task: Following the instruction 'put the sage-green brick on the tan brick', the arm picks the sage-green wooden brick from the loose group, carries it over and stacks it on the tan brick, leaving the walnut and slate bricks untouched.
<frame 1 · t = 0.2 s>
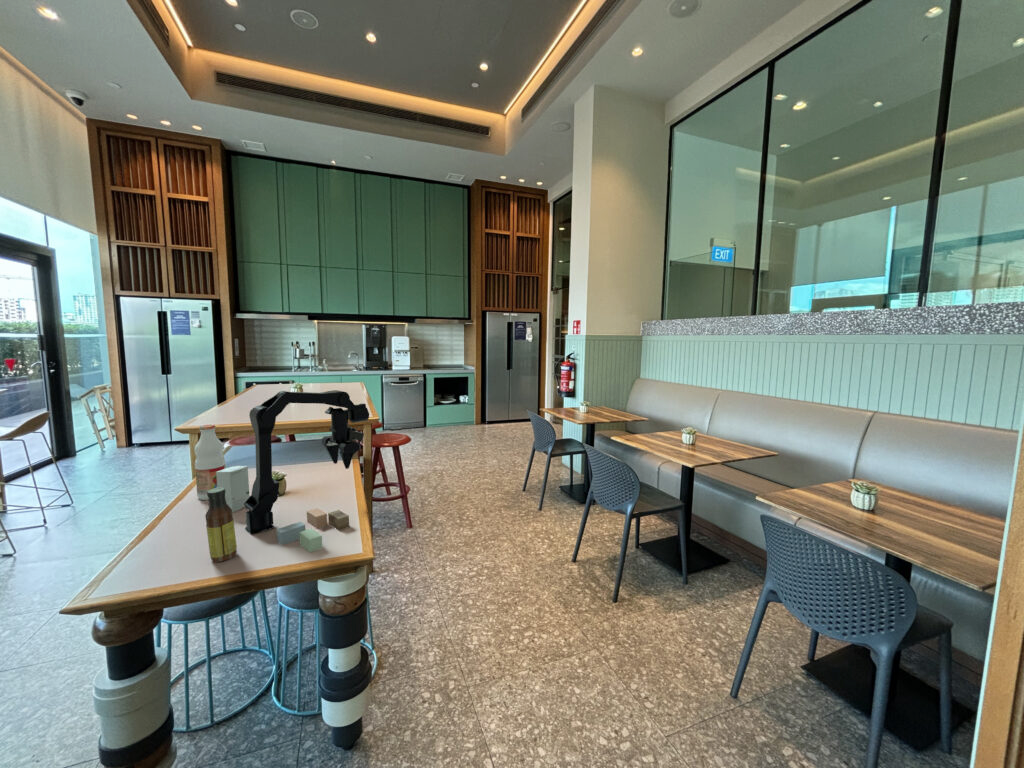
hand: (341, 465, 151), 14 cm above the table, fingers open, 9 cm apart
tan brick: (317, 523, 136), on the table
slate brick: (291, 539, 126), on the table
walnut brick: (338, 525, 135), on the table
sauce bottle: (223, 558, 115), on the table
sage brick: (311, 546, 121), on the table
skincare box: (234, 508, 148), on the table
fruit juice: (212, 496, 160), on the table
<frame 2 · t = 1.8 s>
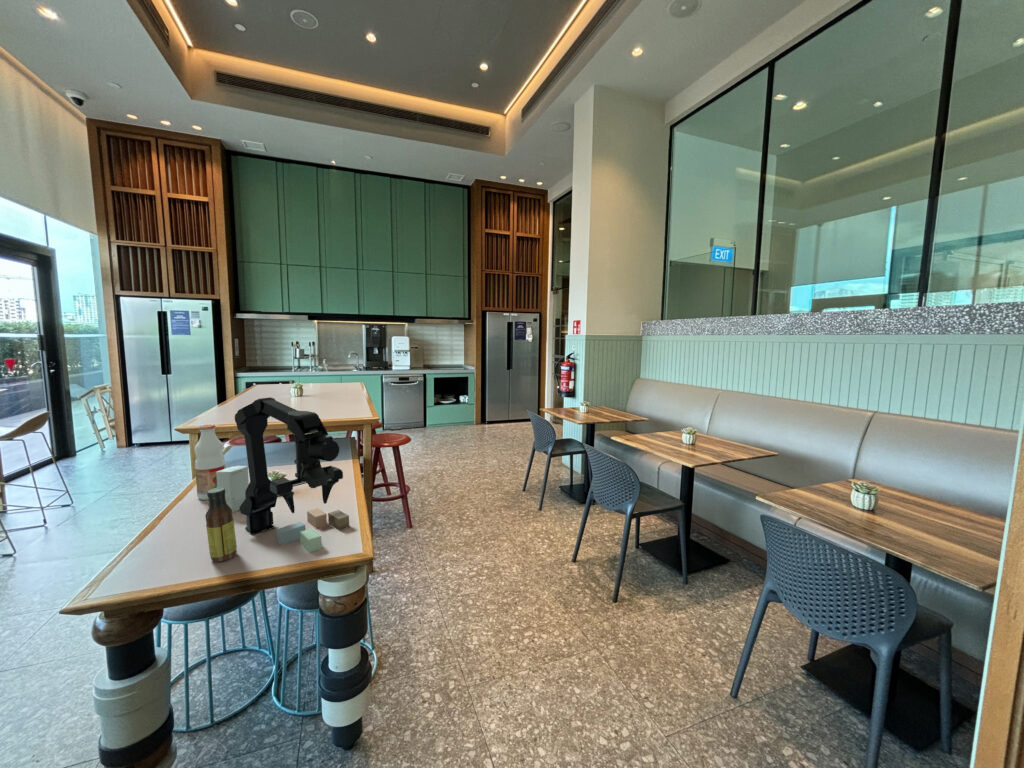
hand: (309, 508, 120), 12 cm above the table, fingers open, 9 cm apart
nothing on the table moved.
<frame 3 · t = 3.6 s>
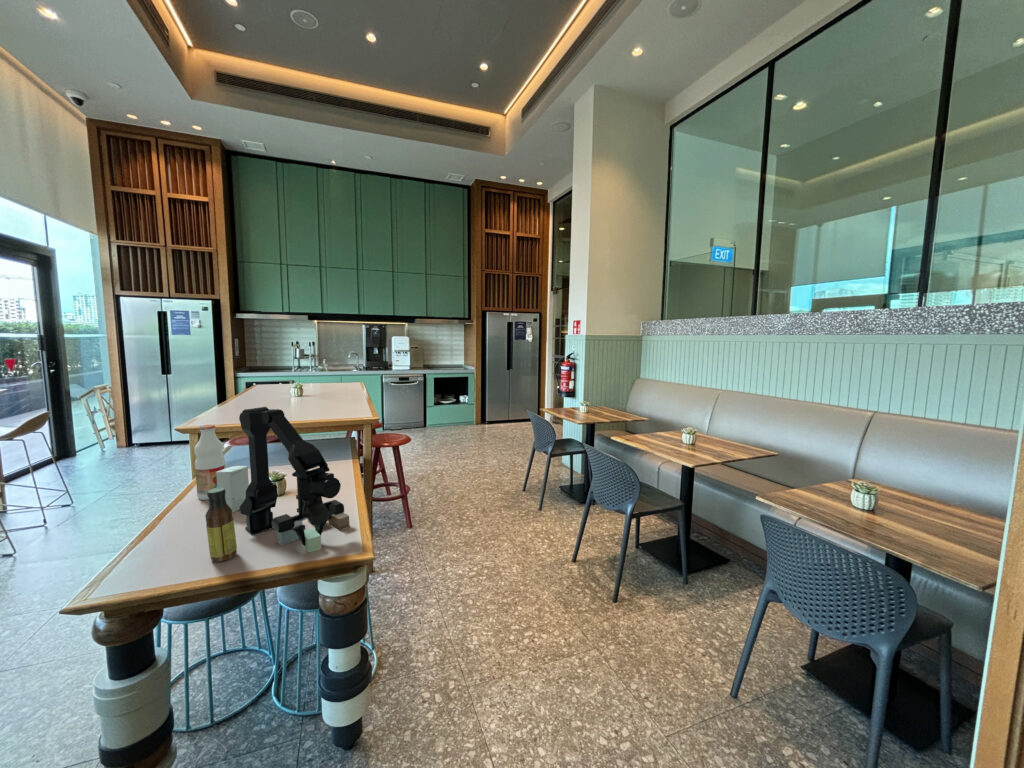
hand: (311, 542, 121), 1 cm above the table, fingers closed on sage brick, 4 cm apart
sage brick: (311, 546, 121), on the table, touching gripper
everything else where it was.
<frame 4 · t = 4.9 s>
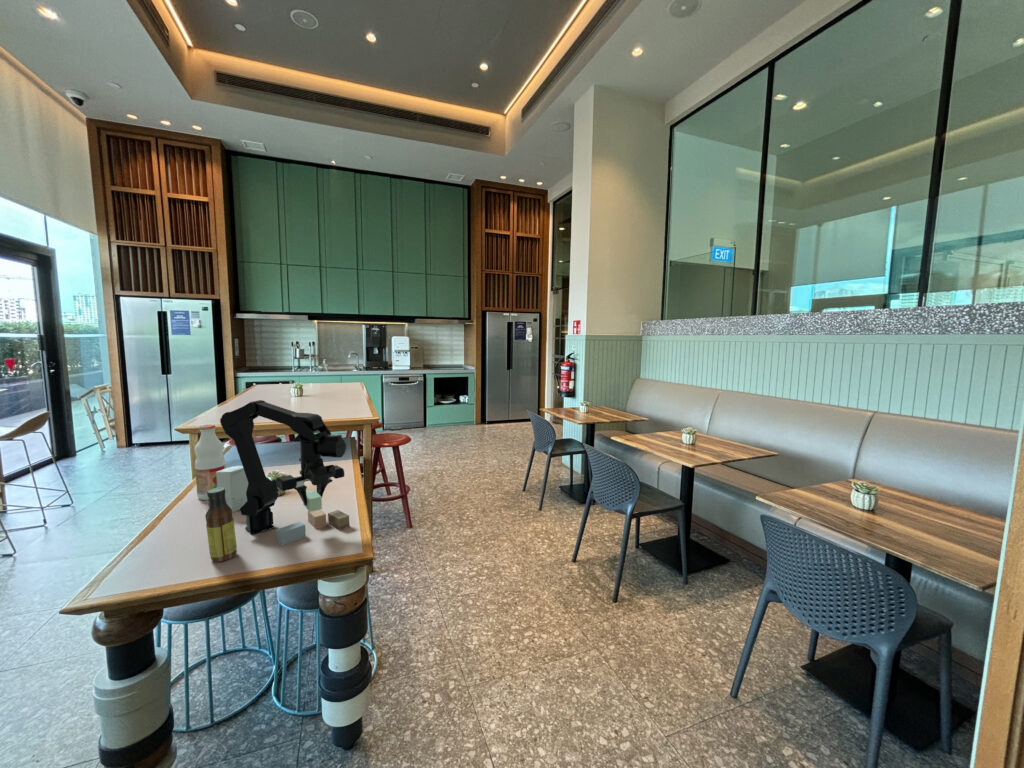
hand: (312, 503, 128), 10 cm above the table, fingers closed on sage brick, 4 cm apart
sage brick: (312, 506, 128), point 9 cm above the table, touching gripper
everything else where it was.
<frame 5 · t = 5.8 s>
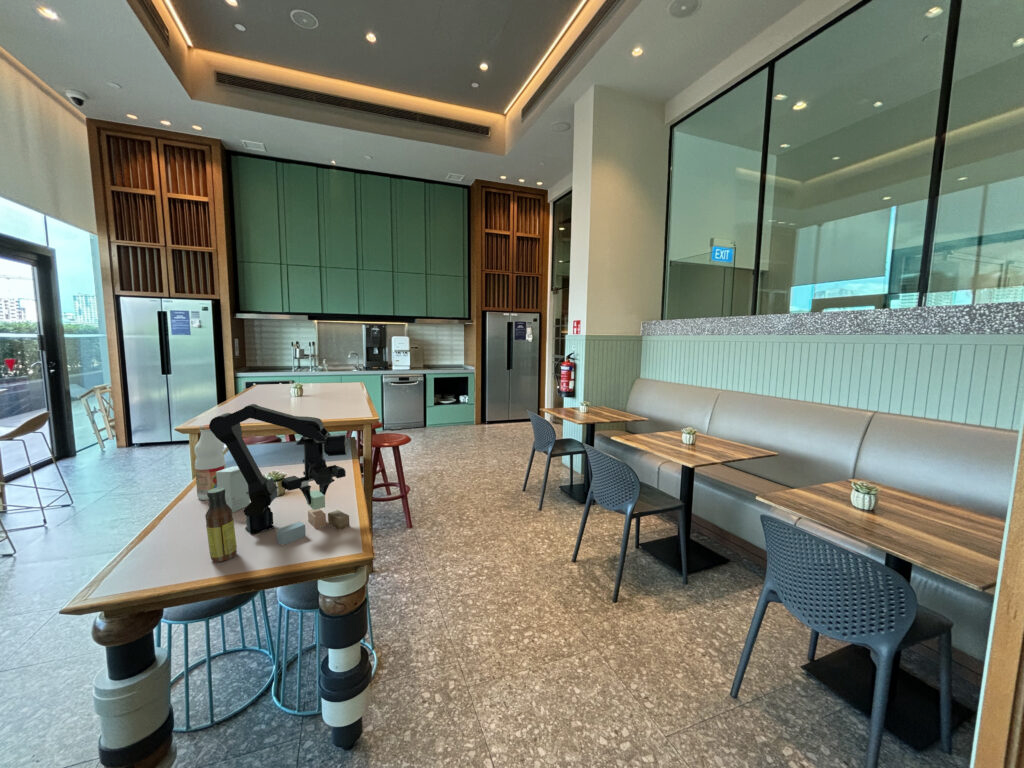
hand: (315, 502, 136), 7 cm above the table, fingers closed on sage brick, 4 cm apart
sage brick: (315, 505, 136), point 6 cm above the table, touching gripper
everything else where it was.
when the fingers open (6 cm above the table, at t = 6.3 s): sage brick drops 1 cm, resting on tan brick.
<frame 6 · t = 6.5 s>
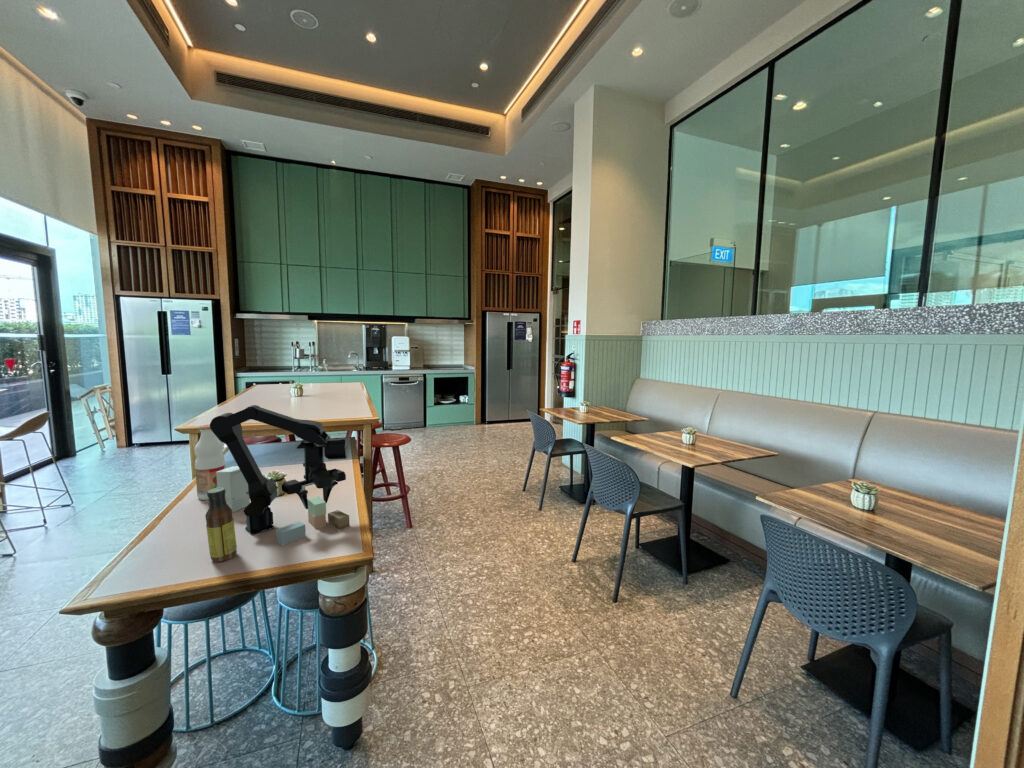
hand: (316, 506, 136), 6 cm above the table, fingers open, 6 cm apart
tan brick: (317, 523, 136), on the table, touching sage brick
sage brick: (317, 512, 136), point 4 cm above the table, touching tan brick
everything else where it was.
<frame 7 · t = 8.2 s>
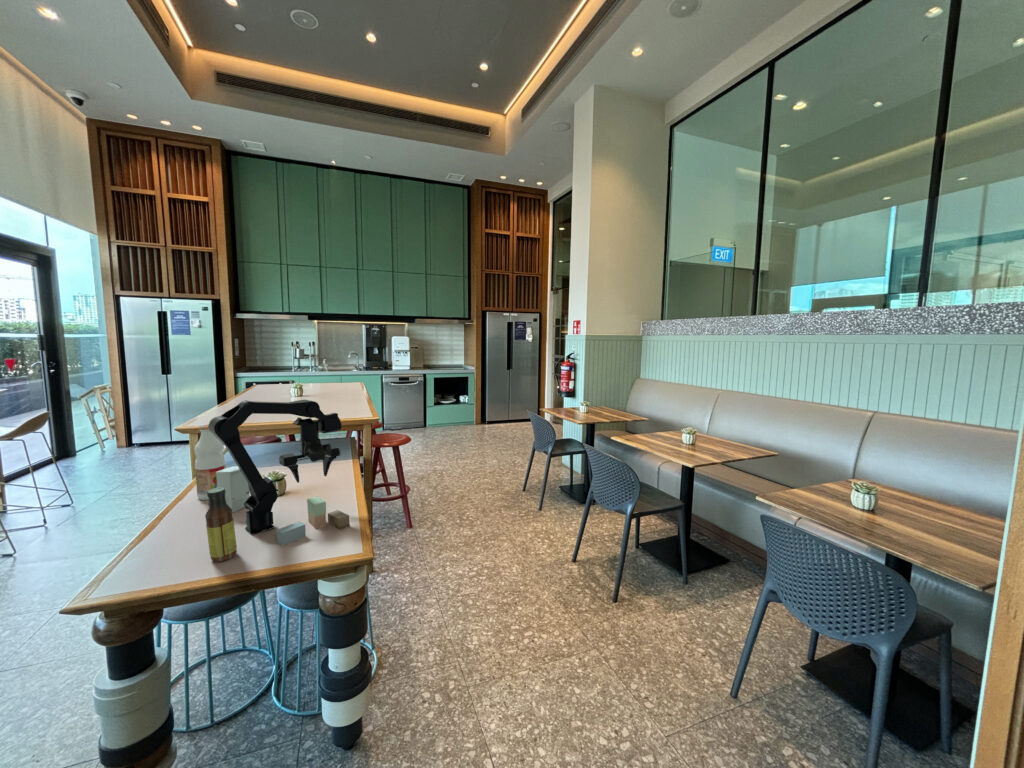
hand: (312, 479, 144), 12 cm above the table, fingers open, 9 cm apart
nothing on the table moved.
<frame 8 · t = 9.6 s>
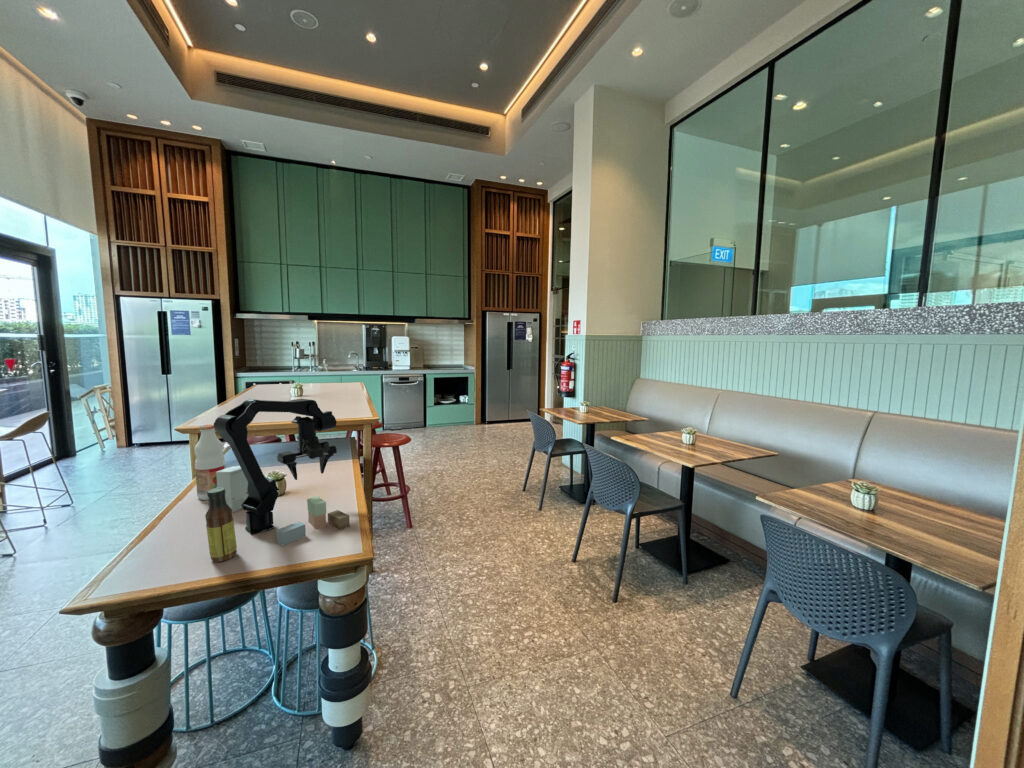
hand: (309, 476, 147), 12 cm above the table, fingers open, 9 cm apart
nothing on the table moved.
at the end: sage brick 0.1 cm off-centre on the tan brick, point 4.0 cm above the tan brick's base; walnut brick moved 0.2 cm from its start; slate brick moved 0.2 cm from its start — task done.
